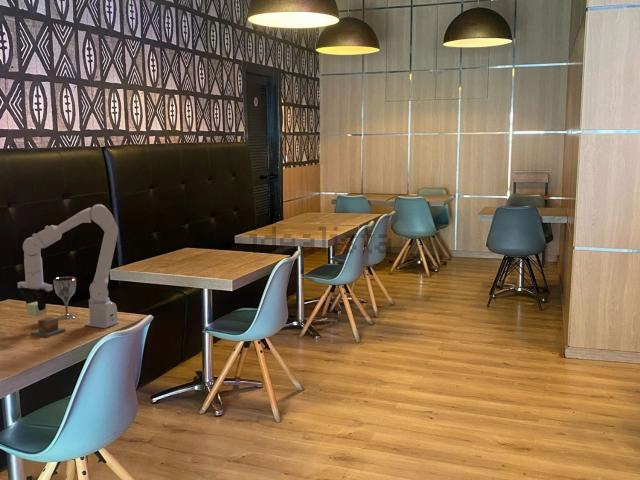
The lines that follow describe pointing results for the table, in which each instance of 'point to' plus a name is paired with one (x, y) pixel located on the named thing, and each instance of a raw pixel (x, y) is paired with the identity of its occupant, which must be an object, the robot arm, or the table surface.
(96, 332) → the table surface
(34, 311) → the sage cube
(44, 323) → the walnut block
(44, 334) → the slate board
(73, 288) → the wine glass
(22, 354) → the table surface
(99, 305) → the robot arm
